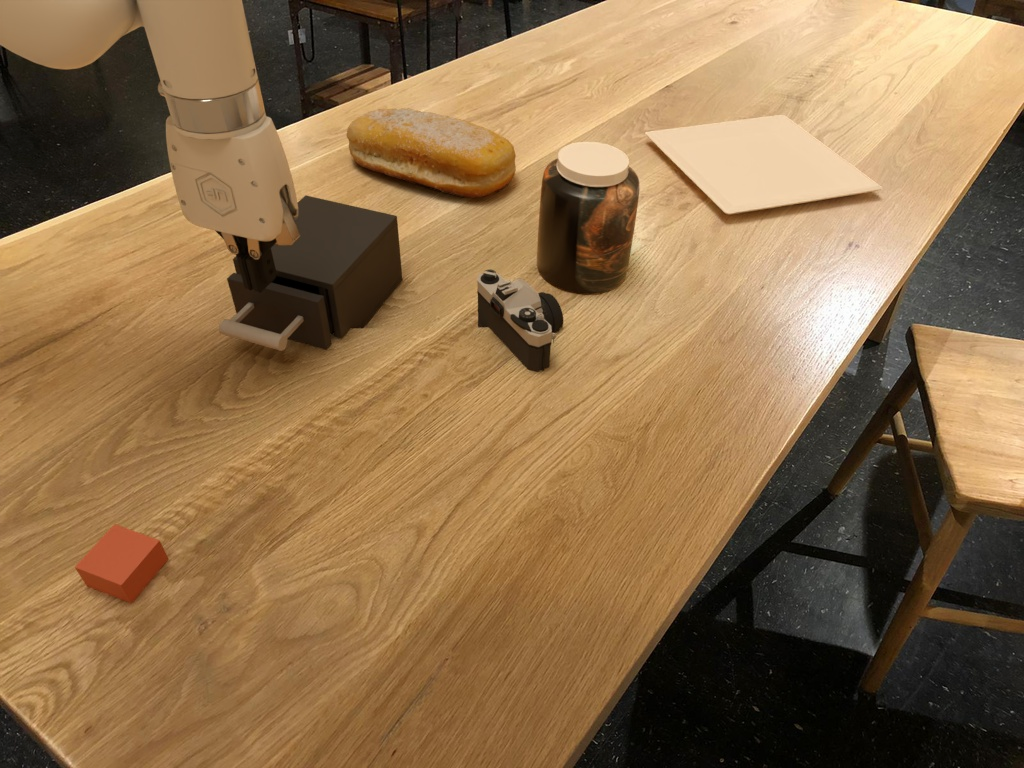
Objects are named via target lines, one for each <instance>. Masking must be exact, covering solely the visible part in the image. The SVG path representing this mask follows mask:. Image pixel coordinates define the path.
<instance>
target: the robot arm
mask: <svg viewBox="0 0 1024 768" xmlns="http://www.w3.org/2000/svg"><path fill="white" fill-rule="evenodd" d="M247 22H248V21H247V18H246V14H245V9H244V4H243V0H0V46H1V47H3V48H5V49H6V50H8V51H10V52H11V53H13V54H15V55H17V56H19V57H21V58H24V59H26V60H28V61H30V62H32V63H35V64H37V65H40V66H43V67H47V68H50V69H57V70H76V69H81V68H83V67H86V66H89V65H90V64H93V63H94V62H96V60H98V59H99V58H101V57H102V56H103V55H104V54H105V53H106V52H107V51H108V50H109V49H111V47H112V46H113V45H115V44H116V42H118V41H119V40H120V38H123V36H125V35H128V34H129V33H131V32H133V31H135V30H137V29H138V28H139V29H140V28H142V27H143V28H144V31H145V34H146V38H147V41H148V44H149V48H150V51H151V54H152V58H153V60H154V64H155V67H156V71H157V75H158V77H159V80H160V81H159V82H158V85H157V91H158V94H159V95H160V96H162V97H164V98H165V102H166V104H167V108H168V111H169V114H170V115H168V116H167V118H166V119H165V140H166V148H167V156H168V162H169V167H170V172H171V177H172V179H173V185H174V189H175V192H176V193H175V194H176V196H177V200H178V204H179V207H180V210H181V213H182V215H183V216H184V218H185V219H186V220H187V221H188V222H189V223H191V224H192V225H194V226H197V227H200V228H204V229H208V230H212V231H215V233H216V234H218V236H219V237H221V238H222V239H223V240H224V243H225V245H226V248H227V250H228V252H230V253H231V254H233V255H235V257H237V261H238V265H239V269H240V272H241V276H242V280H243V283H244V287H245V289H248V290H252V289H253V290H254V291H255V292H259V293H261V292H262V291H263V290H264V289H265V288H266V287H267V286H268V285H269V284H270V283H271V282H272V281H273V280H274V279H275V278H276V276H277V273H276V268H275V264H274V260H273V255H272V251H271V247H273V246H274V245H292V244H294V243H295V242H296V241H297V240H298V239H299V238H300V233H299V231H298V229H297V226H296V224H295V222H294V220H295V219H297V218H298V203H297V202H298V197H297V193H296V192H297V191H296V187H295V183H294V179H293V176H292V172H291V168H290V164H289V161H288V158H287V155H286V151H285V150H284V146H283V143H282V141H281V138H280V136H279V134H278V131H277V128H276V126H275V123H274V121H273V119H272V118H271V117H270V116H267V114H266V110H265V105H264V100H263V99H264V98H263V95H262V91H261V85H260V80H259V76H258V71H257V68H256V63H255V59H254V58H255V57H254V53H253V47H252V43H251V37H250V32H249V28H248V27H249V26H248V23H247Z"/></svg>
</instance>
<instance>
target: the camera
mask: <svg viewBox="0 0 1024 768" xmlns="http://www.w3.org/2000/svg"><path fill="white" fill-rule="evenodd" d="M476 290H477V291H476V294H477V328H489V329H490V330H491V332H492V333H493V334H494V335H495V336H496V337H497V338H498V339H499V340H500V341H501V342H502V343H503V344H504V346H506V348H507V349H508V350H509V351H510V352H511V353H512V354H513V355H514V356H515V357H516V358H517V359H518V361H519V362H520V363H521V364H522V365H523V366H524V367H525V368H526V369H527V370H529V371H532V372H534V373H539V372H541V371H542V372H545V369H548V368H550V362H551V361H550V360H551V346H552V344H553V345H554V344H555V340H556V338H557V334H556V333H558V332H559V331H560V330H561V329H562V328H563V326H564V313H563V310H562V308H561V305H560V303H559V301H558V300H557V298H556V297H555V296H554V295H553V294H551V293H549V292H544V291H540V292H538V291H536V289H535V288H533V286H531V285H530V284H529V283H528V282H527V281H526V280H525V279H524V278H523V279H522V278H516V279H515V280H513V281H512V280H510V279H508V280H505V278H503V277H502V276H501V275H500V274H499V273H497V271H496V270H494V269H486V270H484V271H483V273H479V274H477V289H476Z"/></svg>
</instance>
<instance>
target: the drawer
mask: <svg viewBox="0 0 1024 768" xmlns="http://www.w3.org/2000/svg"><path fill="white" fill-rule="evenodd" d="M226 281H227V284H228V287H229V291H230V295H231V298H232V302H233V305H234V306H233V307H234V309H235V313H236V314H234V316H233V317H232V318H231V319H227V318H224V319H223V320H221V322H220V323H219V326H218V331H219V333H220V335H223V336H227V337H230V338H233V339H234V338H235V339H238V340H241V341H244V342H248V343H251V344H256V345H258V346H263V347H265V348H269V349H273V350H277V351H280V352H282V351H284V350H285V349H286V347H287V345H288V340H289V341H292V342H296V343H300V344H303V345H307V346H310V347H314V348H318V349H321V350H325V351H328V349H330V347H331V346H332V344H333V341H332V336H331V335H335V331H334V325H333V319H332V313H331V308H330V302H329V296H328V290H327V289H326V288H322V287H318V286H314V285H310V284H306V283H302V282H298V281H294V280H291V279H287V278H283V277H279V276H276V278H275V279H274V280H273V281H272V282H271V283H270V284H269V285H268V286H267V287H266V288H265V289H264V290H263V291H262V292H261V293H259V292H255V291H254V290H253V289H252V290H248V289H245V287H244V283H243V280H242V276H241V274H237V273H236V272H233V273H231V274H229V276H228V277H227V278H226Z"/></svg>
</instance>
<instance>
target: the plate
mask: <svg viewBox="0 0 1024 768" xmlns="http://www.w3.org/2000/svg"><path fill="white" fill-rule="evenodd" d="M644 134H645V136H646V137H647V138H648V139H649V140H650V141H651V142H652V143H653V144H654V145H655V146H656V147H657V148H658V149H659V150H660V151H661V152H662V153H663V154H664V155H665V156H666V157H667V158H668V159H669V160H670V161H671V162H672V163H673V164H674V165H675V166H677V168H678V169H679V170H680V171H682V173H683V174H685V176H686V177H687V178H689V180H691V182H692V183H693V184H694V185H695V186H697V188H699V189H700V191H702V192H703V194H705V195H706V196H707V198H708V199H710V200H711V201H712V202H713V203H714V204H715V206H717V207H718V208H719V209H720V210H721V211H722V212H723V214H726V215H728V216H730V215H731V216H732V215H738V214H742V213H743V214H744V213H749V212H755V211H761V210H767V209H774V208H778V207H786V206H792V205H793V206H794V205H797V204H805V203H810V202H816V201H823V200H824V201H825V200H829V199H835V198H841V197H847V196H853V195H860V194H866V193H872V192H878V191H881V190H882V189H883V186H882V185H880V184H879V183H877V182H876V181H875V180H873V179H872V178H871V177H869V176H868V175H866V174H865V173H864V172H863V171H861V170H860V169H858V168H857V167H856V166H855V165H854V164H852V163H850V162H849V161H848V160H846V159H845V158H844V157H842V156H841V155H840V154H838V153H837V152H836V151H834V150H833V149H831V148H830V147H829V146H827V145H826V144H825V143H823V142H822V141H820V139H818V138H816V137H815V136H814V135H813V134H811V133H810V132H809V131H807V130H806V129H805V128H803V127H801V126H800V125H799V124H798V123H796V122H795V121H793V120H792V119H791V118H789V116H787V115H785V114H774V115H767V116H759V117H752V118H743V119H736V120H735V119H734V120H728V121H720V122H713V123H703V124H695V125H688V126H681V127H673V128H665V129H657V130H650V131H645V132H644Z"/></svg>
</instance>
